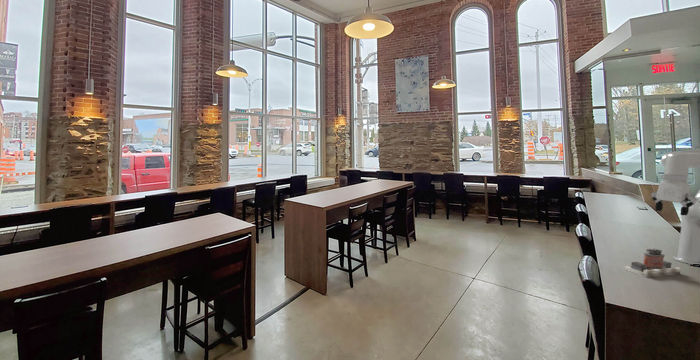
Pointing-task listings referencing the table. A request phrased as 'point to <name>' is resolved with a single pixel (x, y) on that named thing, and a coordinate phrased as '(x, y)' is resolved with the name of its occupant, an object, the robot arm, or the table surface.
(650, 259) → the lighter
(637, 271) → the white base plate
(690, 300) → the table surface
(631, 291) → the table surface
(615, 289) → the table surface
